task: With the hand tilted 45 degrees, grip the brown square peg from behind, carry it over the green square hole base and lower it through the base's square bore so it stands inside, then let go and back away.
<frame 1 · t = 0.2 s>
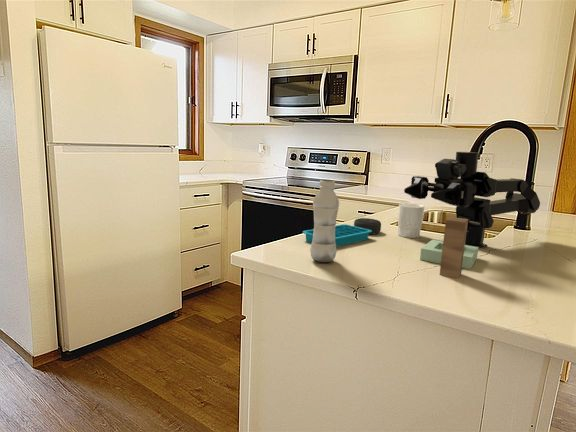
hand: (417, 192, 104), 17 cm above the worktop, tool horizontal, fingers open, 9 cm apart
smart speaker: (366, 232, 132), on the worktop
brown square peg: (450, 274, 91), on the worktop
plastic bottle: (322, 261, 97), on the worktop
green square hole base: (449, 258, 104), on the worktop
white cup: (408, 236, 129), on the worktop
ice cube tray: (337, 241, 119), on the worktop
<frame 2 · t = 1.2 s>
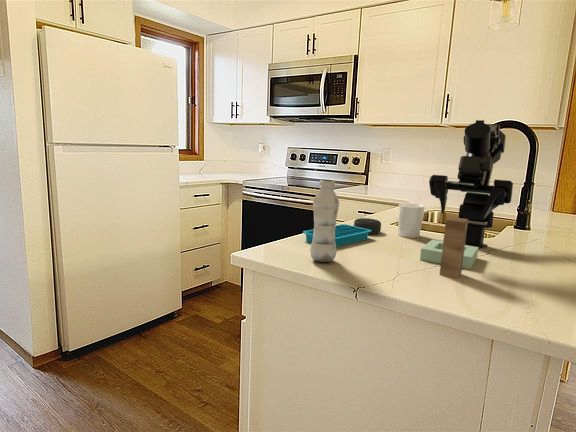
hand: (462, 214, 94), 13 cm above the worktop, tool tilted 45°, fingers open, 9 cm apart
nothing on the worktop moved.
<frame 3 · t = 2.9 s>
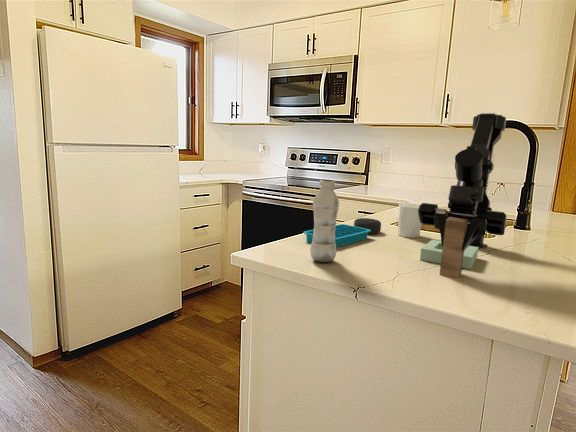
hand: (452, 247, 89), 7 cm above the worktop, tool tilted 45°, fingers closed on brown square peg, 4 cm apart
brown square peg: (450, 274, 91), on the worktop, touching gripper
everything else where it was.
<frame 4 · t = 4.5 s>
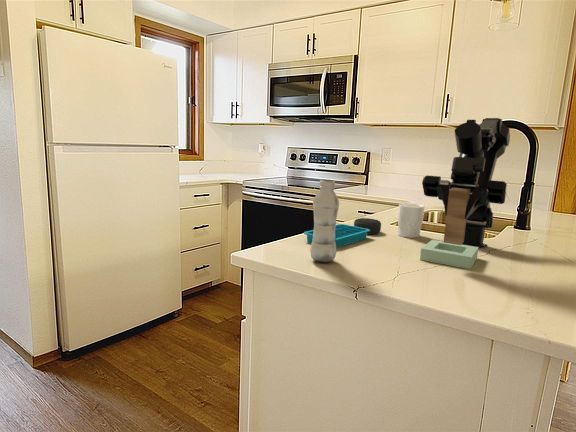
hand: (455, 216, 93), 13 cm above the worktop, tool tilted 45°, fingers closed on brown square peg, 4 cm apart
brown square peg: (453, 242, 96), point 6 cm above the worktop, touching gripper
everything else where it was.
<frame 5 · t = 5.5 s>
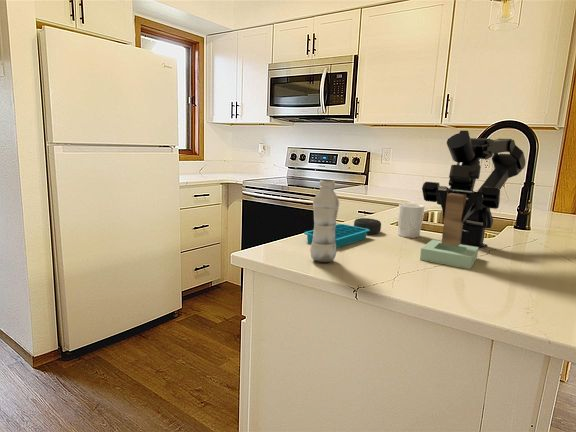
hand: (452, 220, 100), 11 cm above the worktop, tool tilted 45°, fingers closed on brown square peg, 4 cm apart
brown square peg: (451, 243, 103), point 4 cm above the worktop, touching gripper
everything else where it was.
when the fingers open (8 cm above the worktop, at t = 6.3 s): brown square peg drops 1 cm, resting in green square hole base.
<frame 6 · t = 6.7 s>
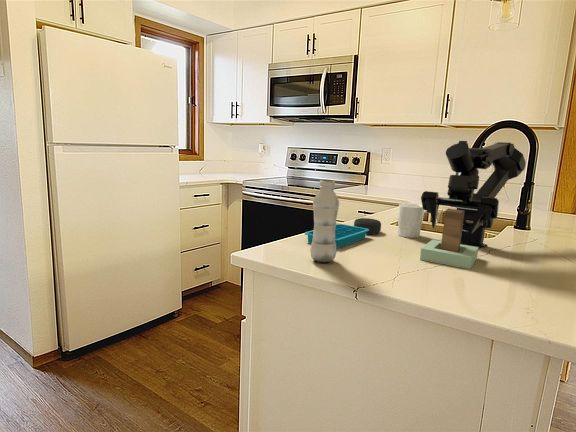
hand: (451, 229, 101), 8 cm above the worktop, tool tilted 45°, fingers open, 9 cm apart
brown square peg: (449, 258, 104), resting in green square hole base
everything else where it was.
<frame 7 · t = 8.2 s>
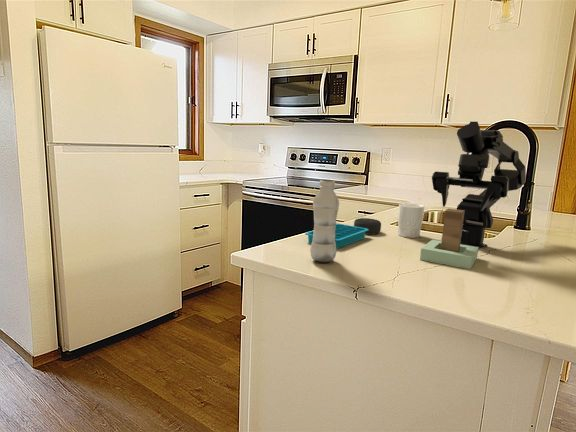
hand: (461, 207, 103), 13 cm above the worktop, tool tilted 45°, fingers open, 9 cm apart
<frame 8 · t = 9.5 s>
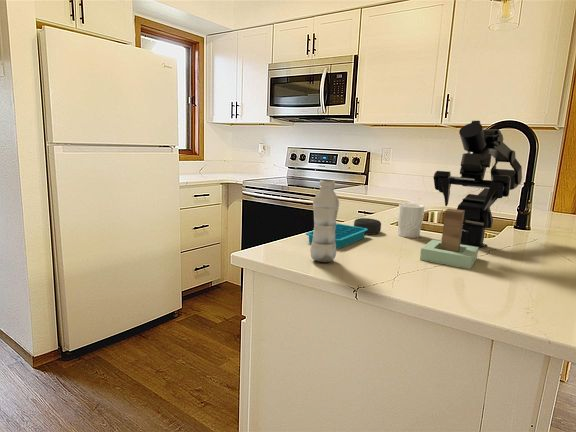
hand: (464, 207, 103), 14 cm above the worktop, tool tilted 45°, fingers open, 9 cm apart
at the end: brown square peg 0.0 cm off-centre on the green square hole base, point 0.0 cm above the green square hole base's base; brown square peg tilted 0°; the gripper is holding nothing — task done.
